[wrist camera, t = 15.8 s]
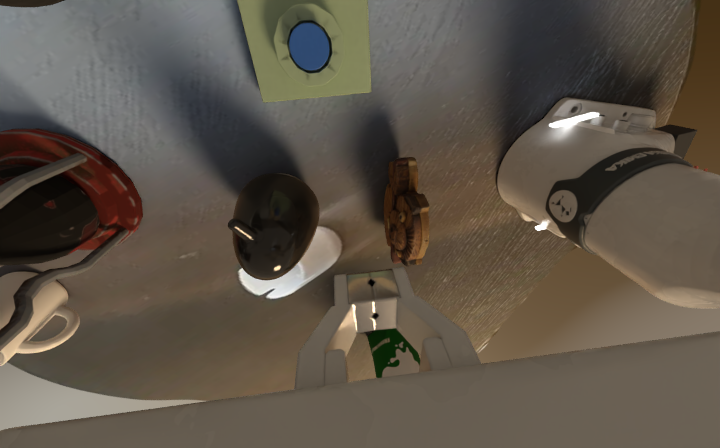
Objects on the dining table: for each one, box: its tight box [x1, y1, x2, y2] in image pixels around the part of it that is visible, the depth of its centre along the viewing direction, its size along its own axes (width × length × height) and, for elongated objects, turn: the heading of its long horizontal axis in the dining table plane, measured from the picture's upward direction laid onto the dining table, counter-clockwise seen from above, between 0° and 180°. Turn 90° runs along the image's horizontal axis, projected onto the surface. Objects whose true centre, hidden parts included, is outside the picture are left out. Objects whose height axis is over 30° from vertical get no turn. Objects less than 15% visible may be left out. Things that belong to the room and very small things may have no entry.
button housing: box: [237, 0, 371, 102], centre depth 26 cm, size 12×9×4 cm
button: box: [289, 23, 329, 70], centre depth 24 cm, size 4×4×2 cm
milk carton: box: [368, 328, 420, 378], centre depth 49 cm, size 9×9×20 cm
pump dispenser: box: [228, 173, 319, 280], centre depth 31 cm, size 10×10×15 cm
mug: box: [0, 271, 80, 366], centre depth 37 cm, size 12×8×10 cm
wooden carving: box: [384, 157, 429, 266], centre depth 35 cm, size 16×5×10 cm, turn 7°
